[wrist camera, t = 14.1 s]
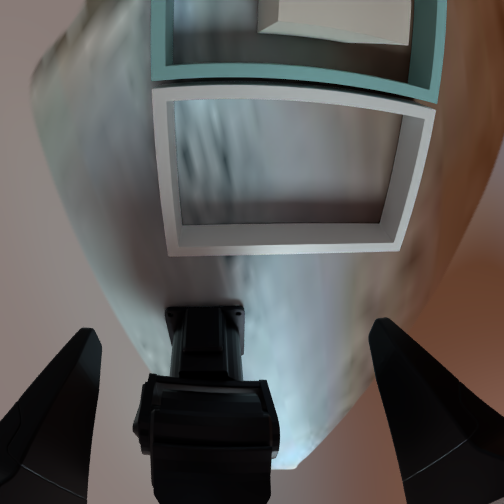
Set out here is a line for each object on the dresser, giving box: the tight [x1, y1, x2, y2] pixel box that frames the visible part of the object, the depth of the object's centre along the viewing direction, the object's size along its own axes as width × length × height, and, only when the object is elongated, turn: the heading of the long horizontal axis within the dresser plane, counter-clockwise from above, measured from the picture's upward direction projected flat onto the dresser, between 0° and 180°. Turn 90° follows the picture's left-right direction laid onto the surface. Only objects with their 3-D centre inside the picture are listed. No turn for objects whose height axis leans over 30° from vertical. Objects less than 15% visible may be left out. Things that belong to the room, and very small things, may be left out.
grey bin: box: [152, 81, 436, 257], centre depth 18 cm, size 10×15×2 cm, turn 88°
